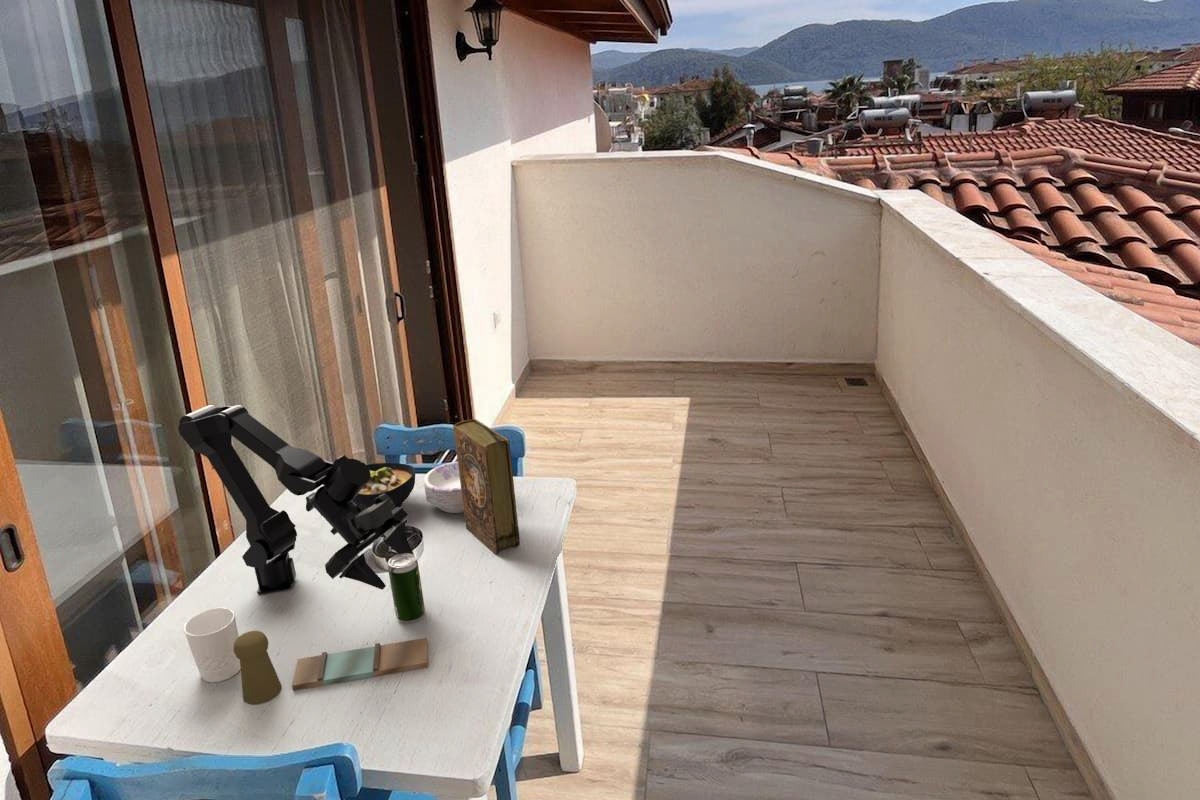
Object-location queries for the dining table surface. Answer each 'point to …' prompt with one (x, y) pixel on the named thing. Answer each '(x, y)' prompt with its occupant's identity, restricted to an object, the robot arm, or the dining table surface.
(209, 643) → the white cup
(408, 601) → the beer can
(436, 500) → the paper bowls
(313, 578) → the dining table surface
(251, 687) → the cork
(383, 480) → the bowl
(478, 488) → the book
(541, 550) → the dining table surface
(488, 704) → the dining table surface
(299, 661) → the board
